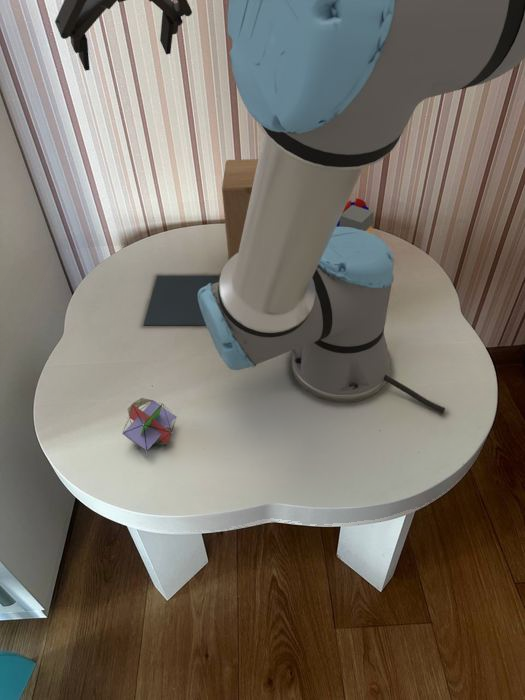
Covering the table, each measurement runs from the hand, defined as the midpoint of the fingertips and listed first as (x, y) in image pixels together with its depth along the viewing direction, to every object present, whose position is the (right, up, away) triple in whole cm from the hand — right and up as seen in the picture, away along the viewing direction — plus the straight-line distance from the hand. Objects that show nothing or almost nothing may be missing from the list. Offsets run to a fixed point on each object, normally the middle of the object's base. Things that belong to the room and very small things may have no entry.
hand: (125, 55), depth 91 cm
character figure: (+38, -40, +9) cm, 56 cm away
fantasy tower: (+39, -29, +20) cm, 52 cm away
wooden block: (+21, -32, +17) cm, 42 cm away
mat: (+8, -39, +11) cm, 41 cm away
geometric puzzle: (+7, -61, -11) cm, 62 cm away
